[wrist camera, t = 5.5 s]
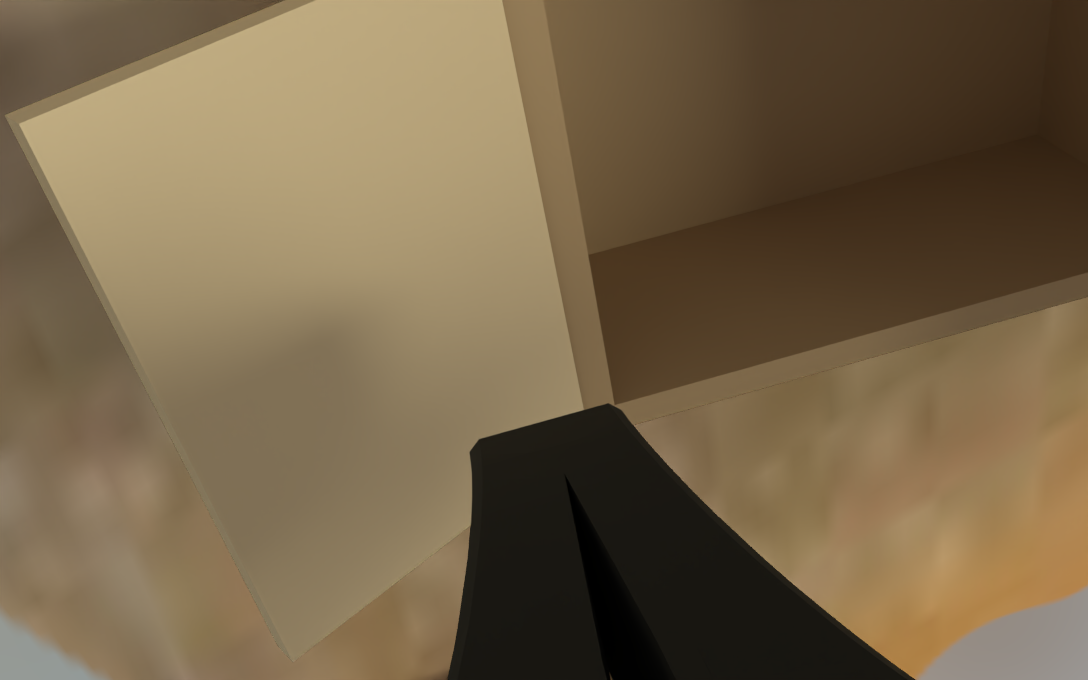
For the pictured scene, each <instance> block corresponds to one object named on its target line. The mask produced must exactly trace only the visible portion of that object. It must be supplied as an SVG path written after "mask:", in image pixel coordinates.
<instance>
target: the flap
mask: <svg viewBox="0 0 1088 680" xmlns="http://www.w3.org/2000/svg"><path fill="white" fill-rule="evenodd" d="M5 117H6V119H7V121H8V123H9V125H10V127H11V129H12V131H13V133H14V135H15V137H16V139H17V141H18V142H19V144H20V146H21V148H22V150H23V152H24V154H25V156H26V158H27V160H28V162H29V164H30V166H31V168H32V170H33V172H34V174H35V175H36V177H37V179H38V181H39V183H40V185H41V187H42V189H43V191H44V193H45V195H46V197H47V199H48V201H49V203H50V205H51V207H52V209H53V210H54V212H55V214H56V216H57V218H58V220H59V222H60V224H61V226H62V228H63V230H64V232H65V234H66V236H67V238H68V240H69V242H70V243H71V245H72V247H73V249H74V251H75V253H76V255H77V257H78V259H79V261H80V263H81V265H82V267H83V269H84V271H85V273H86V275H87V276H88V278H89V280H90V282H91V284H92V286H93V288H94V290H95V292H96V294H97V296H98V298H99V300H100V302H101V304H102V306H103V308H104V309H105V311H106V313H107V315H108V317H109V319H110V321H111V323H112V325H113V327H114V329H115V331H116V333H117V335H118V337H119V339H120V341H121V343H122V344H123V346H124V348H125V350H126V352H127V354H128V356H129V358H130V360H131V362H132V364H133V366H134V368H135V370H136V372H137V374H138V376H139V377H140V379H141V381H142V383H143V385H144V387H145V389H146V391H147V393H148V395H149V397H150V399H151V401H152V403H153V405H154V407H155V409H156V410H157V412H158V414H159V416H160V418H161V420H162V422H163V424H164V426H165V428H166V430H167V432H168V434H169V436H170V438H171V440H172V442H173V444H174V445H175V447H176V449H177V451H178V453H179V455H180V457H181V459H182V461H183V463H184V465H185V467H186V469H187V471H188V473H189V475H190V477H191V478H192V480H193V482H194V484H195V486H196V488H197V490H198V492H199V494H200V496H201V498H202V500H203V502H204V504H205V506H206V508H207V510H208V511H209V513H210V515H211V517H212V519H213V521H214V523H215V525H216V527H217V529H218V531H219V533H220V535H221V537H222V539H223V541H224V543H225V544H226V546H227V548H228V550H229V552H230V554H231V556H232V558H233V560H234V562H235V564H236V566H237V568H238V570H239V572H240V574H241V576H242V578H243V579H244V581H245V583H246V585H247V587H248V589H249V591H250V593H251V595H252V597H253V599H254V601H255V603H256V605H257V607H258V609H259V611H260V612H261V614H262V616H263V618H264V620H265V622H266V624H267V626H268V628H269V630H270V632H271V634H272V636H273V638H274V640H275V642H276V644H277V645H278V647H279V648H280V649H281V650H282V651H283V652H284V653H285V654H286V655H287V657H288V658H289V659H290V660H291V661H292V662H294V661H295V660H296V659H298V658H299V657H300V656H302V655H303V654H304V653H305V652H307V651H308V650H309V649H311V648H312V647H313V646H315V645H316V644H317V643H318V642H320V641H321V640H322V639H324V638H325V637H326V636H328V635H329V634H330V633H331V632H333V631H334V630H335V629H337V628H338V627H339V626H341V625H342V624H343V623H344V622H346V621H347V620H348V619H350V618H351V617H352V616H354V615H355V614H356V613H357V612H359V611H360V610H361V609H363V608H364V607H365V606H367V605H368V604H369V603H371V602H372V601H373V600H374V599H376V598H377V597H378V596H380V595H381V594H382V593H384V592H385V591H386V590H387V589H389V588H390V587H391V586H393V585H394V584H395V583H397V582H398V581H399V580H400V579H402V578H403V577H404V576H406V575H407V574H408V573H410V572H411V571H412V570H413V569H415V568H416V567H417V566H419V565H420V564H421V563H423V562H424V561H425V560H426V559H428V558H429V557H430V556H432V555H433V554H434V553H436V552H437V551H438V550H439V549H441V548H442V547H443V546H445V545H446V544H447V543H449V542H450V541H451V540H452V539H454V538H455V537H456V536H458V535H459V534H460V533H462V532H463V531H464V530H465V529H467V528H468V527H469V526H471V512H472V469H471V461H470V453H469V452H470V451H471V449H472V448H473V446H474V445H475V444H476V442H477V441H478V440H479V439H481V438H485V437H488V436H492V435H495V434H499V433H503V432H506V431H510V430H513V429H517V428H521V427H524V426H528V425H531V424H535V423H539V422H542V421H546V420H549V419H553V418H557V417H560V416H564V415H567V414H571V413H575V412H578V411H582V410H584V408H583V403H582V398H581V393H580V388H579V383H578V378H577V373H576V368H575V363H574V358H573V353H572V348H571V343H570V338H569V333H568V328H567V323H566V318H565V313H564V308H563V303H562V298H561V293H560V288H559V283H558V278H557V273H556V268H555V263H554V258H553V253H552V248H551V243H550V238H549V233H548V228H547V223H546V218H545V213H544V208H543V203H542V198H541V193H540V188H539V183H538V178H537V173H536V168H535V163H534V158H533V153H532V148H531V143H530V138H529V133H528V128H527V123H526V118H525V113H524V108H523V103H522V98H521V93H520V88H519V82H518V77H517V72H516V67H515V62H514V57H513V52H512V47H511V42H510V37H509V32H508V27H507V22H506V17H505V12H504V7H503V2H502V0H284V1H282V2H279V3H277V4H274V5H272V6H270V7H267V8H265V9H262V10H260V11H257V12H255V13H253V14H250V15H248V16H245V17H243V18H240V19H238V20H235V21H233V22H231V23H228V24H226V25H223V26H221V27H218V28H216V29H213V30H211V31H209V32H206V33H204V34H201V35H199V36H196V37H194V38H191V39H189V40H187V41H184V42H182V43H179V44H177V45H174V46H172V47H170V48H167V49H165V50H162V51H160V52H157V53H155V54H152V55H150V56H148V57H145V58H143V59H140V60H138V61H135V62H133V63H130V64H128V65H126V66H123V67H121V68H118V69H116V70H113V71H111V72H108V73H106V74H104V75H101V76H99V77H96V78H94V79H91V80H89V81H86V82H84V83H82V84H79V85H77V86H74V87H72V88H69V89H67V90H65V91H62V92H60V93H57V94H55V95H52V96H50V97H47V98H45V99H43V100H40V101H38V102H35V103H33V104H30V105H28V106H25V107H23V108H21V109H18V110H16V111H13V112H11V113H8V114H6V115H5Z"/></svg>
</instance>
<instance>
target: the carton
mask: <svg viewBox="0 0 1088 680" xmlns="http://www.w3.org/2000/svg"><path fill="white" fill-rule="evenodd" d="M502 2H503V7H504V12H505V17H506V22H507V27H508V32H509V37H510V42H511V47H512V52H513V57H514V62H515V67H516V72H517V77H518V82H519V88H520V93H521V98H522V103H523V108H524V113H525V118H526V123H527V128H528V133H529V138H530V143H531V148H532V153H533V158H534V163H535V168H536V173H537V178H538V183H539V188H540V193H541V198H542V203H543V208H544V213H545V218H546V223H547V228H548V233H549V238H550V243H551V248H552V253H553V258H554V263H555V268H556V273H557V278H558V283H559V288H560V293H561V298H562V303H563V308H564V313H565V318H566V323H567V328H568V333H569V338H570V343H571V348H572V353H573V358H574V363H575V368H576V373H577V378H578V383H579V388H580V393H581V398H582V403H583V408H584V410H585V409H589V408H593V407H596V406H600V405H603V404H607V403H609V404H611V405H613V406H615V407H617V408H619V409H621V410H622V411H623V413H624V414H625V415H626V417H627V418H628V419H629V421H630V422H631V423H632V424H633V425H636V424H639V423H643V422H646V421H650V420H653V419H657V418H660V417H664V416H667V415H671V414H675V413H678V412H682V411H685V410H689V409H692V408H696V407H699V406H703V405H706V404H710V403H713V402H717V401H721V400H724V399H728V398H731V397H735V396H738V395H742V394H745V393H749V392H752V391H756V390H760V389H763V388H767V387H770V386H774V385H777V384H781V383H784V382H788V381H791V380H795V379H798V378H802V377H806V376H809V375H813V374H816V373H820V372H823V371H827V370H830V369H834V368H837V367H841V366H844V365H848V364H852V363H855V362H859V361H862V360H866V359H869V358H873V357H876V356H880V355H883V354H887V353H890V352H894V351H898V350H901V349H905V348H908V347H912V346H915V345H919V344H922V343H926V342H929V341H933V340H937V339H940V338H944V337H947V336H951V335H954V334H958V333H961V332H965V331H968V330H972V329H975V328H979V327H983V326H986V325H990V324H993V323H997V322H1000V321H1004V320H1007V319H1011V318H1014V317H1018V316H1021V315H1025V314H1029V313H1032V312H1036V311H1039V310H1043V309H1046V308H1050V307H1053V306H1057V305H1060V304H1064V303H1067V302H1071V301H1075V300H1078V299H1082V298H1085V297H1088V0H502Z"/></svg>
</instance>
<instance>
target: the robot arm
mask: <svg viewBox="0 0 1088 680" xmlns="http://www.w3.org/2000/svg"><path fill="white" fill-rule="evenodd" d="M469 453H470V461H471V469H472V512H471V527H470V539H469V550H468V560H467V568H466V574H465V581H464V588H463V595H462V602H461V609H460V616H459V623H458V629H457V635H456V641H455V646H454V651H453V656H452V661H451V665H450V670H449V675H448V679H447V680H611V678H610V675H611V677H612V680H915V679H914V678H912V677H911V676H909V675H908V674H907V673H905V672H904V671H902V670H901V669H900V668H898V667H897V666H896V665H894V664H893V663H891V662H890V661H889V660H888V659H886V658H885V657H884V656H882V655H881V654H880V653H878V652H877V651H876V650H874V649H873V648H872V647H870V646H869V645H868V644H866V643H865V642H864V641H863V640H861V639H860V638H859V637H857V636H856V635H855V634H854V633H852V632H851V631H850V630H848V629H847V628H846V627H845V626H843V625H842V624H841V623H840V622H838V621H837V620H836V619H835V618H833V617H832V616H831V615H830V614H829V613H827V612H826V611H825V610H824V609H822V608H821V607H820V606H819V605H818V604H816V603H815V602H814V601H813V600H812V599H810V598H809V597H808V596H807V595H805V594H804V593H803V592H802V591H801V590H799V589H798V588H797V587H796V586H795V585H793V584H792V583H791V582H790V581H789V580H788V579H786V578H785V577H784V576H783V575H782V574H781V573H780V572H778V571H777V570H776V569H775V568H774V567H773V566H772V565H770V564H769V563H768V562H767V561H766V560H765V559H764V558H763V557H761V556H760V555H759V554H758V553H757V552H756V551H755V550H754V549H753V548H752V547H751V546H750V545H748V544H747V543H746V542H745V541H744V540H743V539H742V538H741V537H740V536H739V535H738V534H737V533H736V532H734V531H733V530H732V529H731V528H730V527H729V526H728V525H727V524H726V523H725V522H724V521H723V520H722V519H720V518H719V517H718V516H717V515H716V514H715V513H714V512H713V511H712V510H711V509H710V508H709V507H708V506H707V505H706V504H705V503H704V502H703V501H702V500H701V499H700V498H699V497H698V496H697V495H696V494H695V493H694V492H693V491H692V490H691V489H690V488H689V487H688V486H687V485H686V484H685V483H684V482H683V481H682V480H681V479H680V477H679V476H678V475H677V474H676V473H675V472H674V471H673V470H672V469H671V468H670V467H669V466H668V465H667V464H666V463H665V462H664V460H663V459H662V458H661V457H660V456H659V455H658V454H657V453H656V452H655V451H654V449H653V448H652V447H651V446H650V445H649V444H648V442H647V441H646V440H645V439H644V438H643V437H642V435H641V434H640V433H639V432H638V431H637V429H636V428H635V427H634V426H633V424H632V423H631V422H630V421H629V419H628V418H627V417H626V415H625V414H624V413H623V411H622V410H621V409H619V408H617V407H615V406H613V405H611V404H609V403H607V404H603V405H600V406H596V407H593V408H589V409H585V410H582V411H578V412H575V413H571V414H567V415H564V416H560V417H557V418H553V419H549V420H546V421H542V422H539V423H535V424H531V425H528V426H524V427H521V428H517V429H513V430H510V431H506V432H503V433H499V434H495V435H492V436H488V437H485V438H481V439H479V440H478V441H477V442H476V444H475V445H474V446H473V448H472V449H471V451H470V452H469ZM609 672H610V673H609Z"/></svg>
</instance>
